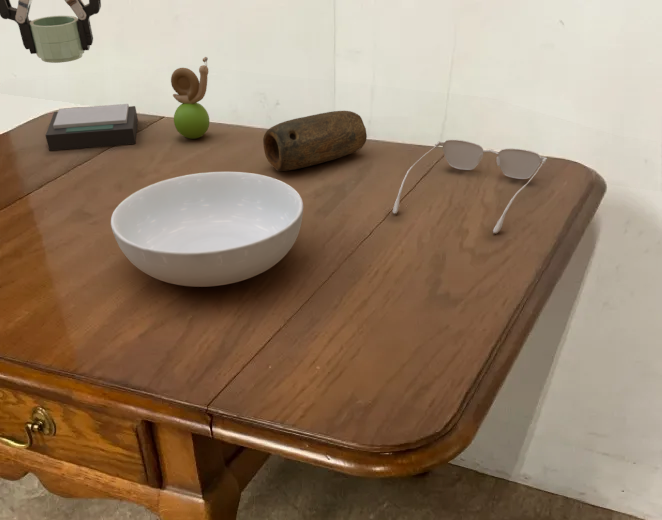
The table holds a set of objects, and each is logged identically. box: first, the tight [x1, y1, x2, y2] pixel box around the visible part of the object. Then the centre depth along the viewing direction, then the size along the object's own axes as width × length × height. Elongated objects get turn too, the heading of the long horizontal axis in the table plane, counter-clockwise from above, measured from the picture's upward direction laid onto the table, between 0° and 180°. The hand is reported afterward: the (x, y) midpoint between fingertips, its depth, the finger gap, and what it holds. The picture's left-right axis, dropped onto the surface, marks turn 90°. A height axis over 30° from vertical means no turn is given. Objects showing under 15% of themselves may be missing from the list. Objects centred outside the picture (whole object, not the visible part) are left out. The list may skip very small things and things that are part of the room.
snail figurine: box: [170, 56, 210, 140], centre depth 117 cm, size 5×6×12 cm
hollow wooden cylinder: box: [262, 110, 368, 172], centre depth 110 cm, size 15×7×7 cm, turn 130°
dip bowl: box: [29, 15, 86, 64], centre depth 103 cm, size 6×6×4 cm
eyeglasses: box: [392, 139, 548, 235], centre depth 100 cm, size 15×18×4 cm
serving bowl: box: [110, 171, 304, 288], centre depth 86 cm, size 21×21×7 cm
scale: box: [45, 103, 139, 151], centre depth 122 cm, size 13×11×3 cm
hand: (60, 50), depth 104 cm, fingers closed on dip bowl, 6 cm apart
